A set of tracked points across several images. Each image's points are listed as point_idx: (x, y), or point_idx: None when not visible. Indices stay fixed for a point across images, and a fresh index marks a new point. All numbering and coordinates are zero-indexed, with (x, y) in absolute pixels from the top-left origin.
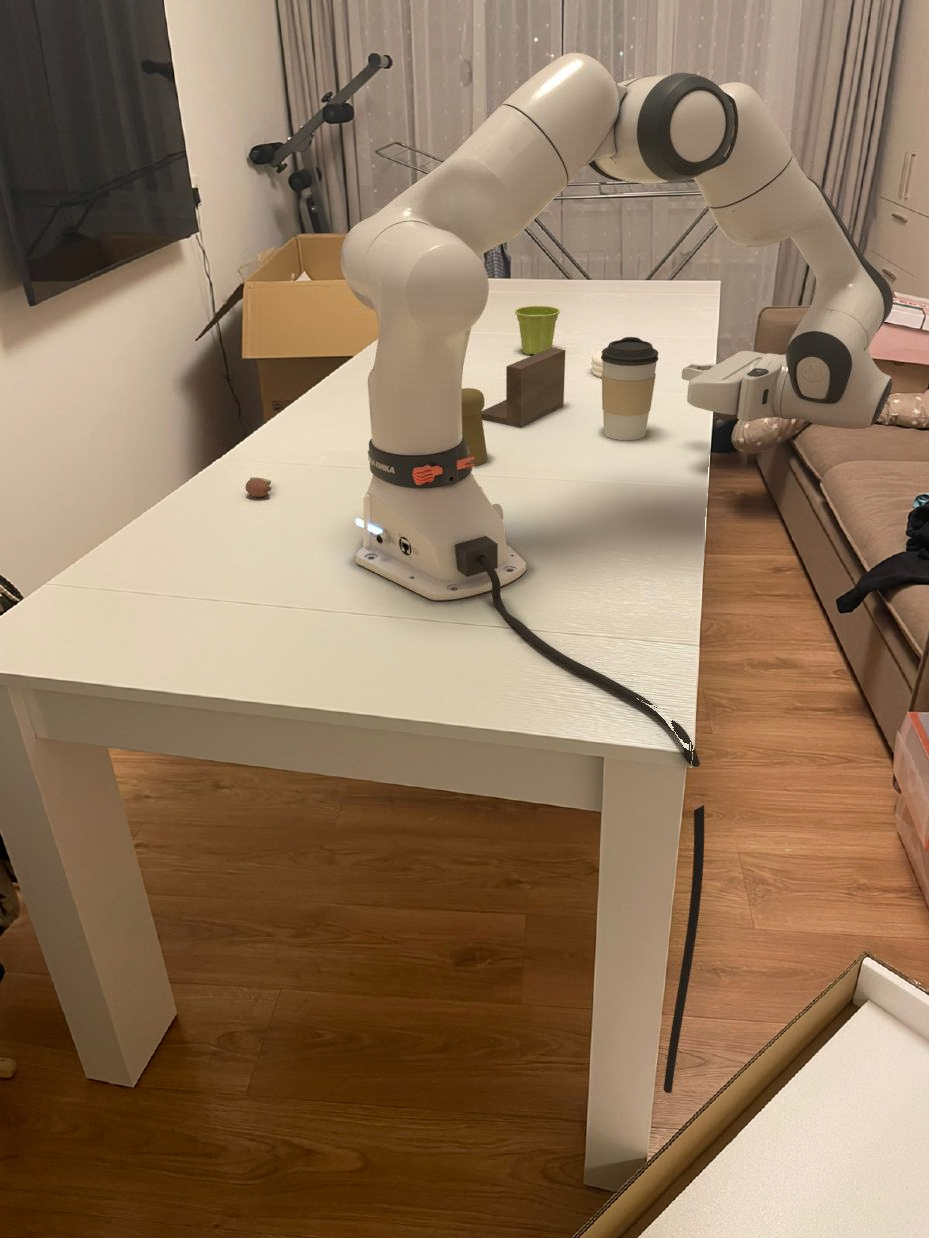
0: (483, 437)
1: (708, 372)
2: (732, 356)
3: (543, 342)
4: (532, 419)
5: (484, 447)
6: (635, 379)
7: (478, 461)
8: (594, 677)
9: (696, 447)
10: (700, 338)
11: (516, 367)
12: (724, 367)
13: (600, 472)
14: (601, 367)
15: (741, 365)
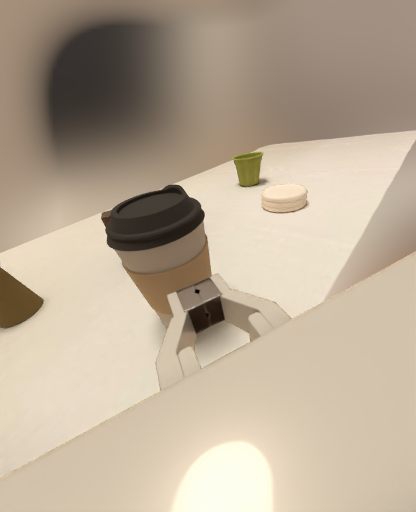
0: (1, 303)
1: (63, 482)
2: (372, 283)
3: (248, 177)
4: None
5: (8, 312)
6: (136, 270)
7: (3, 325)
8: None
9: None
10: (391, 169)
11: (103, 215)
12: (233, 437)
13: (23, 436)
14: (264, 201)
15: (398, 473)
